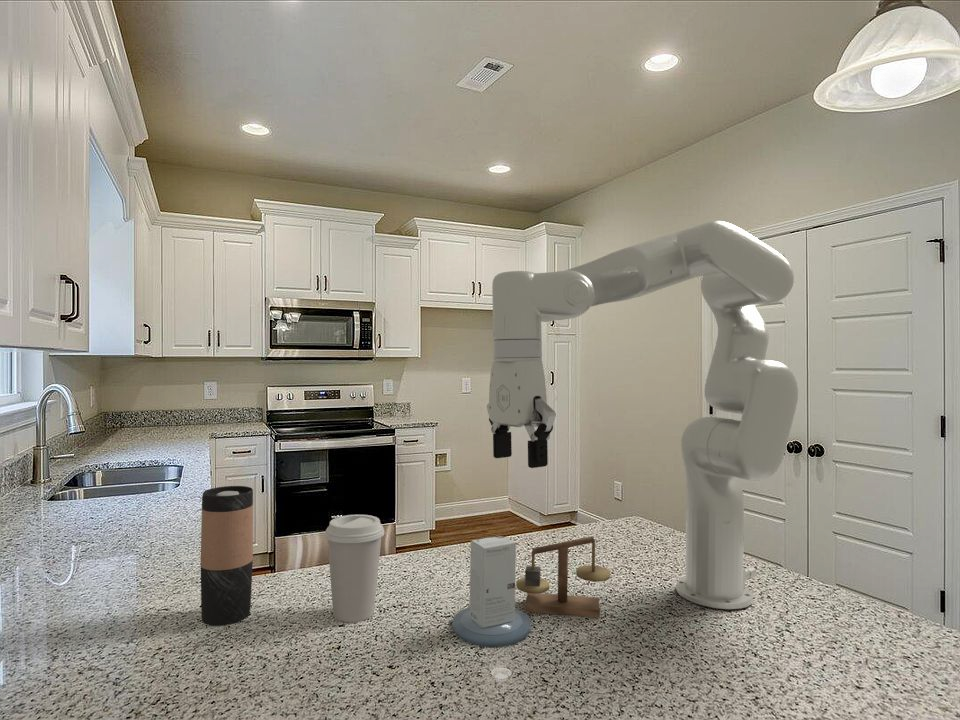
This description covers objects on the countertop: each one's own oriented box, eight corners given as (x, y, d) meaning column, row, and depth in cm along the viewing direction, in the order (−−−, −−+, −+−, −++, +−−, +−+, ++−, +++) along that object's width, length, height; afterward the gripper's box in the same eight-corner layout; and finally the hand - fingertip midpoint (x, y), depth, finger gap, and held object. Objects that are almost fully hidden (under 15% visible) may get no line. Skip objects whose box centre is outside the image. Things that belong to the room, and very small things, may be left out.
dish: (502, 604, 96) (502, 597, 96) (546, 634, 86) (546, 626, 86) (439, 620, 90) (439, 613, 90) (477, 654, 80) (477, 646, 80)
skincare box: (482, 629, 85) (483, 548, 85) (467, 617, 89) (468, 540, 89) (516, 620, 88) (517, 542, 88) (501, 609, 92) (502, 534, 92)
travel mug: (262, 609, 93) (264, 487, 93) (227, 630, 86) (229, 498, 86) (225, 602, 96) (226, 484, 96) (188, 622, 89) (190, 493, 89)
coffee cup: (362, 596, 99) (363, 510, 99) (395, 614, 92) (396, 521, 92) (312, 612, 92) (313, 520, 93) (343, 633, 86) (344, 533, 86)
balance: (609, 604, 97) (609, 532, 97) (611, 619, 91) (612, 542, 91) (517, 597, 99) (518, 527, 99) (514, 611, 94) (515, 536, 94)
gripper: (469, 353, 94) (471, 456, 94) (529, 351, 79) (532, 474, 79) (507, 352, 98) (509, 451, 98) (572, 350, 83) (574, 468, 83)
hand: (519, 461), depth 89 cm, fingers open, 9 cm apart
